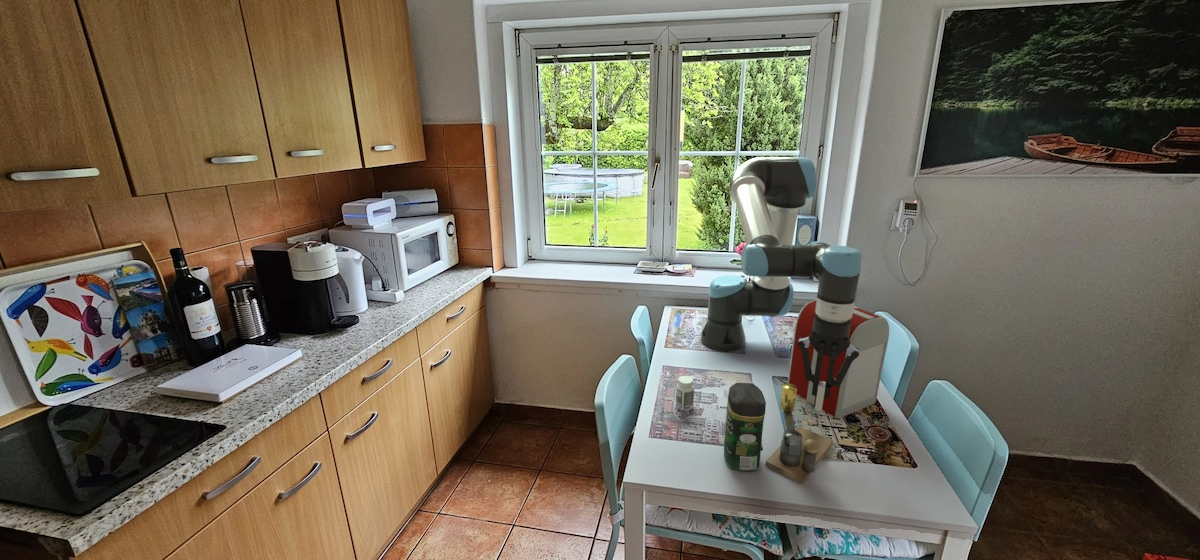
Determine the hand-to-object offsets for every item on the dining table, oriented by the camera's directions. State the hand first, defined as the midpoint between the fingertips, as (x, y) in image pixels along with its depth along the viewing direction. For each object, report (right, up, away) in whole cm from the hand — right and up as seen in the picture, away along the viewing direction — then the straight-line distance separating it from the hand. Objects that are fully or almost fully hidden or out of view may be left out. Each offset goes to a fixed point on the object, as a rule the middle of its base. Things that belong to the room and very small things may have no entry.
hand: (818, 407), depth 116 cm
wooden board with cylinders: (-4, -11, -1) cm, 12 cm away
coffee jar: (-19, -12, -1) cm, 22 cm away
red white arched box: (+14, -3, +24) cm, 28 cm away
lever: (-7, -5, -2) cm, 9 cm away
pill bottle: (-28, -5, +19) cm, 35 cm away
